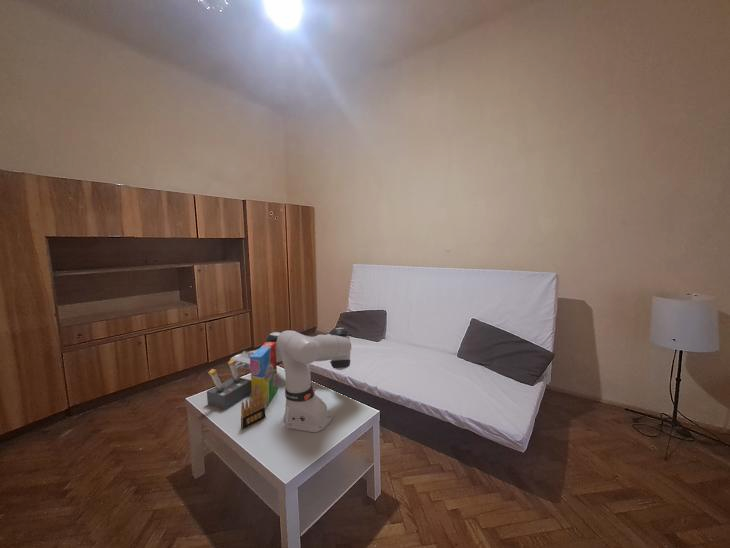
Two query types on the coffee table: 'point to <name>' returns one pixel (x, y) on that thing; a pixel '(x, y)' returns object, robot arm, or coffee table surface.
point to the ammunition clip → (252, 412)
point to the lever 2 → (234, 371)
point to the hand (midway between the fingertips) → (234, 368)
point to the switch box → (229, 393)
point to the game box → (264, 372)
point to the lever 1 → (216, 380)
